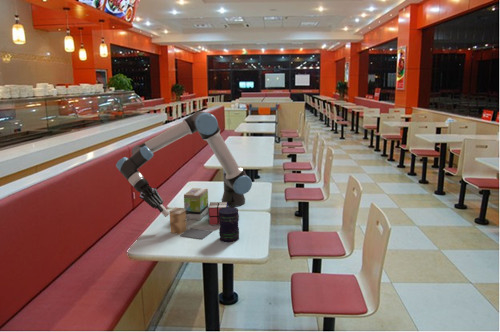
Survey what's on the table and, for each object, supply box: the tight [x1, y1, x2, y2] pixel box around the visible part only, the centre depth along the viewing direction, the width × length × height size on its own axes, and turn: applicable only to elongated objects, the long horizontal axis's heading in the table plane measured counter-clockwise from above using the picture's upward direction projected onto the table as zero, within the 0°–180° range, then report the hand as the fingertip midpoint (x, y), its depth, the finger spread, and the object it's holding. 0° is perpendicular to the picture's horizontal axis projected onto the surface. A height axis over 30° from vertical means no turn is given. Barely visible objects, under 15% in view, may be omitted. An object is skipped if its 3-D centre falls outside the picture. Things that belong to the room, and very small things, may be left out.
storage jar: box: [218, 206, 240, 244], centre depth 196 cm, size 10×10×15 cm
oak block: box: [168, 207, 188, 235], centre depth 207 cm, size 6×6×12 cm
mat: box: [179, 227, 213, 240], centre depth 204 cm, size 13×11×1 cm
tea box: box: [183, 187, 209, 221], centre depth 230 cm, size 15×10×15 cm
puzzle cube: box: [208, 201, 229, 226], centre depth 220 cm, size 10×10×10 cm
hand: (167, 215), depth 209 cm, fingers closed
